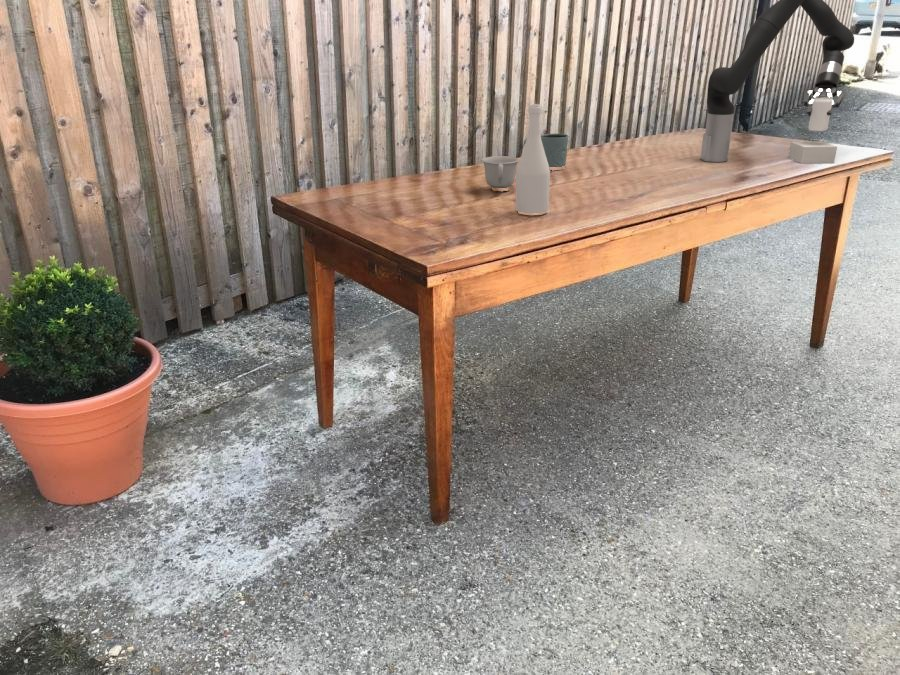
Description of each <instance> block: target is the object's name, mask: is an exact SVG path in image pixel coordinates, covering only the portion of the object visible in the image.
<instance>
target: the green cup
mask: <svg viewBox="0 0 900 675" xmlns="http://www.w3.org/2000/svg"><path fill="white" fill-rule="evenodd" d="M541 141H542V144H543V148H544V151H545V155H546V158H547V162H548V165H549V167H562V166H565V165H566V164H567V162H566V161H567V155H568V154H567V153H568V144H569V143H568V142H569V135H568V134H567V133H566V134H565V133H545V134H541ZM565 167H566V166H565Z"/></svg>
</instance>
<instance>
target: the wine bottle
mask: <svg viewBox="0 0 900 675" xmlns="http://www.w3.org/2000/svg"><path fill="white" fill-rule="evenodd" d="M542 110H543V108H542V105H541V104H540V103H530V104H529V105H528V107H527V113H528V129H527V138H526V141H525V144H524V147H523V150H522V153H521V154H520V158H519V161H518V163H517V166H516V173H515V211H516V210H517V211H519V212H524V213H541V212H546V211H548V212H549V209H550V208H549V207H550V206H549V205H550V188H551V185H550V181H551V171H550V169H549V165H548V162H547V158H546V155H545V151H544V148H543V144H542V141H541V135H542V133H541V129H542V128H541V127H542V126H541V119H542V118H541V114H542Z"/></svg>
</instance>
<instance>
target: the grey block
mask: <svg viewBox="0 0 900 675" xmlns="http://www.w3.org/2000/svg"><path fill="white" fill-rule="evenodd" d="M788 150H789V151H788V155H787V158H788V157H789V158H788V159H790V158H791V160H792V159H793V160H792V161H794V160H795V162H797V163H799V164H801V163H804V164H803V165H805V164H834V163H835V160H836V155H837V151H838V145H835V144H832V143H828V142H825V141H823V140H819V141H818V140H817V141H816V140H815V141H810V140H808V141H790V145H789V149H788Z"/></svg>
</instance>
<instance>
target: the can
mask: <svg viewBox="0 0 900 675" xmlns="http://www.w3.org/2000/svg"><path fill="white" fill-rule="evenodd" d="M832 102H834V100H833V101H832V96H830V97H828V96H815V99H814V100H813V104H812V110H811V116H809V117H810V118H809V122H808V131H810V132H821V133H822V132H827V130H828V128H829V124H830V118H831V115H829V117H828V115H827V112H828V111H829V110H831V107H832Z"/></svg>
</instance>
